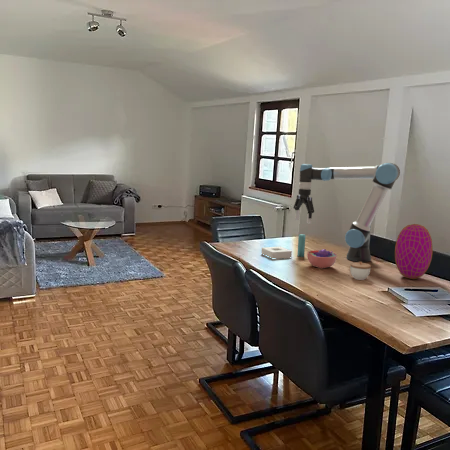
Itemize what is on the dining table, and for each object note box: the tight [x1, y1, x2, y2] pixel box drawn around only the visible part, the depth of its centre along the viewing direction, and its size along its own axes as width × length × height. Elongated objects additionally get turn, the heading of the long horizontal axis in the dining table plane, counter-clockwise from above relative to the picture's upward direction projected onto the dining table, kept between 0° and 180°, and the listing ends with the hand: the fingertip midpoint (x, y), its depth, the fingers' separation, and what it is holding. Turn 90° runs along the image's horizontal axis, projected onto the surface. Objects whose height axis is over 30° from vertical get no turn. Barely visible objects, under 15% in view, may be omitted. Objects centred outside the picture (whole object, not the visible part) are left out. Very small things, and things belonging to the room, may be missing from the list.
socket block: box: [261, 246, 293, 259], centre depth 302 cm, size 14×14×4 cm
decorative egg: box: [394, 223, 433, 280], centre depth 258 cm, size 19×19×30 cm
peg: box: [296, 233, 306, 258], centre depth 304 cm, size 4×4×14 cm
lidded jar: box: [349, 261, 372, 281], centre depth 256 cm, size 11×11×9 cm
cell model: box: [306, 248, 338, 269], centre depth 277 cm, size 17×20×11 cm
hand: (302, 221), depth 301 cm, fingers open, 13 cm apart
